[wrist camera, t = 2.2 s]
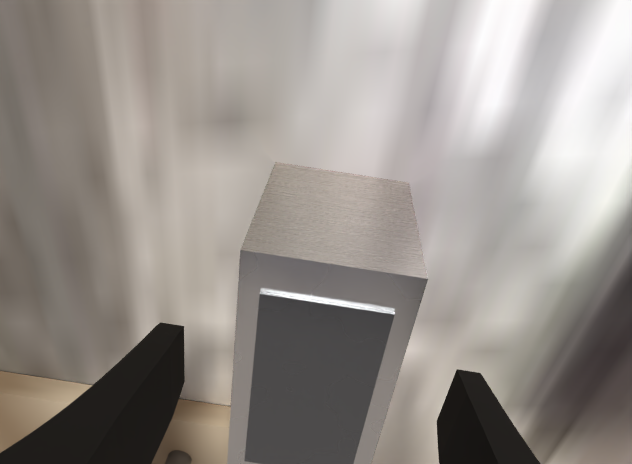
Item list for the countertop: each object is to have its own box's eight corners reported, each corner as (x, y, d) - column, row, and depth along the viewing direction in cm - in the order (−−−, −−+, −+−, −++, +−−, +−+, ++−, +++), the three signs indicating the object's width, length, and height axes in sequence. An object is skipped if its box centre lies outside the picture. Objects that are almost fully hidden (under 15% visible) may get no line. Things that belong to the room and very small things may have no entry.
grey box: (257, 354, 19) (225, 479, 14) (276, 160, 15) (239, 252, 10) (361, 370, 19) (360, 500, 14) (408, 181, 15) (428, 281, 10)
